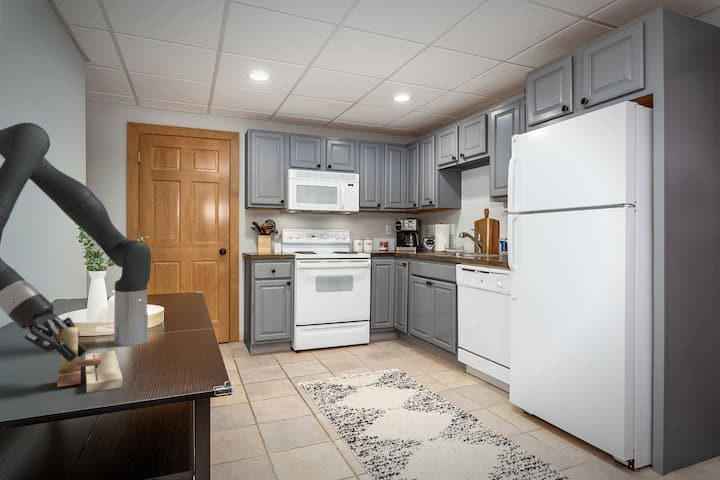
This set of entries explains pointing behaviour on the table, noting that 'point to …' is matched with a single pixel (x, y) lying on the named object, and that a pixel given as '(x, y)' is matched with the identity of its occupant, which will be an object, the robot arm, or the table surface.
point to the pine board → (103, 372)
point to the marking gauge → (72, 370)
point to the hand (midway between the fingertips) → (78, 355)
